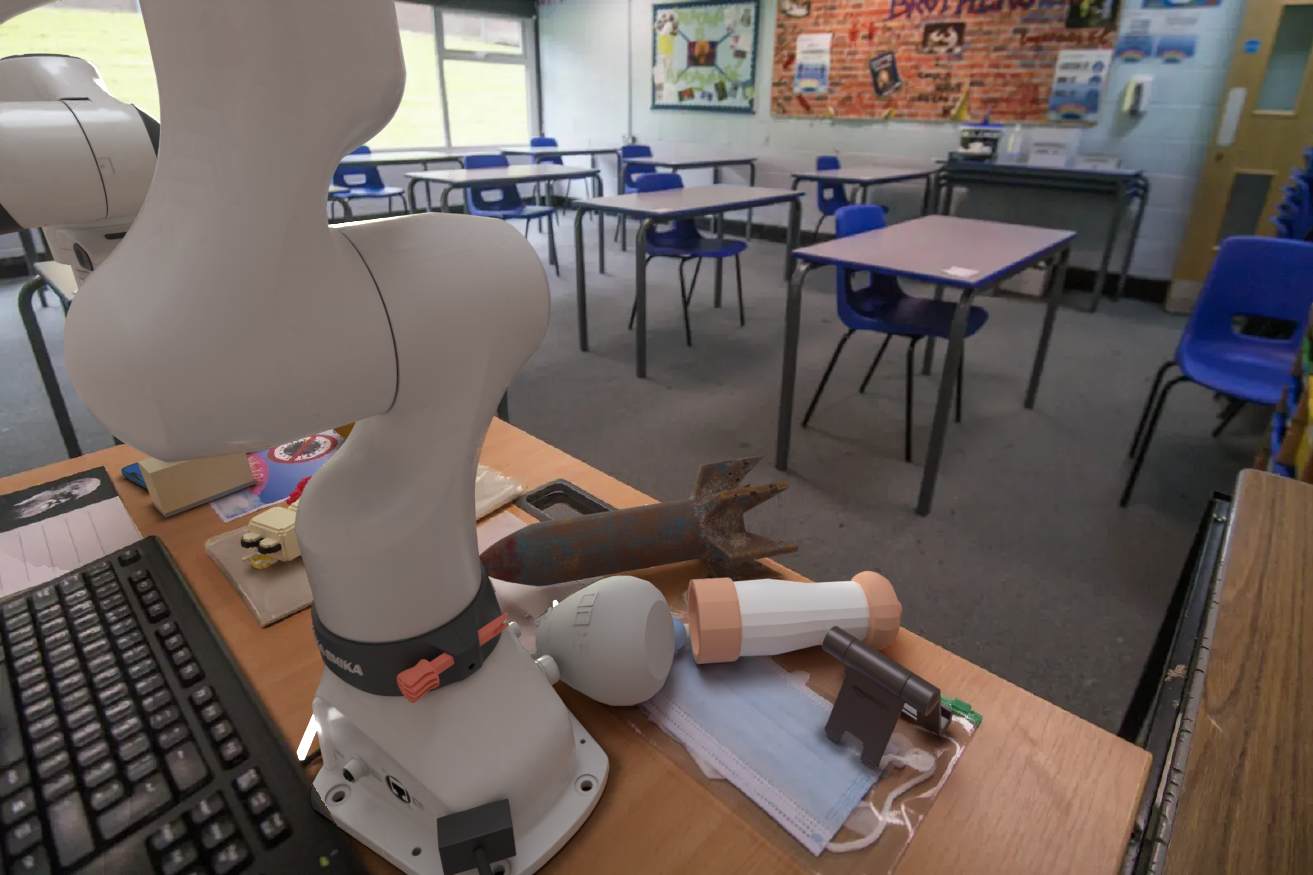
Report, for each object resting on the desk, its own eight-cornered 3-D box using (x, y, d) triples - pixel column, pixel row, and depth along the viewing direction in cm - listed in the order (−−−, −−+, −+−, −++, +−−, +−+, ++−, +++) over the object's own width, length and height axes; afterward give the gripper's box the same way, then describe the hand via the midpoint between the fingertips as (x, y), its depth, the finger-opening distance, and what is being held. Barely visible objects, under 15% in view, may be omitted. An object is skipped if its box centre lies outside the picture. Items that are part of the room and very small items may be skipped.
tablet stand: (951, 730, 56) (975, 653, 52) (901, 790, 51) (923, 710, 47) (856, 668, 62) (871, 595, 58) (802, 718, 57) (815, 641, 53)
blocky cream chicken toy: (388, 467, 94) (217, 558, 73) (382, 406, 91) (199, 484, 69) (449, 483, 91) (287, 584, 69) (444, 421, 87) (272, 507, 66)
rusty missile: (489, 635, 70) (767, 581, 77) (482, 624, 58) (809, 563, 65) (475, 516, 74) (741, 475, 80) (465, 485, 62) (776, 440, 69)
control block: (256, 483, 88) (243, 441, 85) (165, 518, 81) (149, 473, 78) (242, 473, 90) (229, 431, 87) (153, 505, 83) (136, 461, 80)
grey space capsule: (626, 701, 50) (488, 695, 54) (680, 713, 58) (557, 707, 63) (638, 559, 54) (509, 565, 59) (686, 590, 63) (570, 592, 67)
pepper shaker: (702, 624, 57) (927, 610, 59) (689, 562, 63) (893, 551, 65) (697, 681, 61) (907, 667, 63) (685, 618, 67) (877, 606, 69)
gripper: (36, 227, 74) (84, 350, 80) (97, 261, 62) (147, 401, 69) (107, 219, 78) (147, 336, 84) (176, 249, 66) (216, 382, 73)
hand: (147, 366), depth 76 cm, fingers open, 8 cm apart
